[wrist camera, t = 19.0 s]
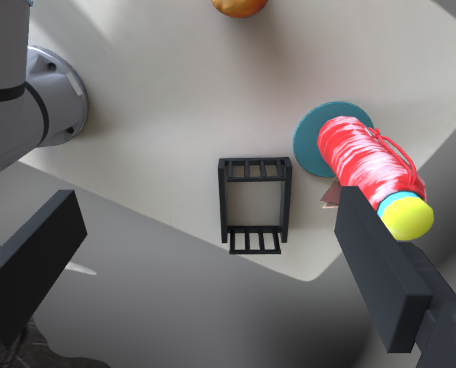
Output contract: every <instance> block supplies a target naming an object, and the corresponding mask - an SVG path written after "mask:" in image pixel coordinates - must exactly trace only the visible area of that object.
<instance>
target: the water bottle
mask: <svg viewBox="0 0 456 368" xmlns="http://www.w3.org/2000/svg"><path fill="white" fill-rule="evenodd" d="M373 133H374V134H375V135H374V134H373ZM378 139H379V140H380V141H379V140H378ZM383 139H385V140H387V141H389V142H390V143H391V144H392V145H393V146H395V147H396V148H397V149H398V150H399V151H400V153H401V154H402V155H403V156H404V157H405V158H406V159H407V161H408V162H409V164H410V165H409V164H408V163H407V162H406V161H405V160H403V159H402V158H401V157H400V156H398V155H397V154H396V153H395V152H394V151H393V150H392V149H391V148H390V147H389V146H388V145H387V144H386V143H385V142H384V141H383ZM317 144H318V147H319V150H320V153H321V155H322V157H323V159H324V161H325V162H326V163H327V164H328V166H329V167H330V168H331V169H332V171H333V172H334V173H335V175H336V176H337V178H338V180H339V181H335V182H334V183H333V184H332V186H331V187H330V188H329V190H328V191H327V192H326V194H325V195H324V196H323V198H322V199H321V200H320V201H325V202H326V203H325V204H324V206H323V207H322V208H333V207H338V206H339V200H340V193H341V187H342V186H359V188H360V189H361V191H362V192H363V194H364V195H365V196H366V198H367V199H368V201H369V202H370V204H371V205H372V207H373V208H374V209H375V211H376V212H377V214H378V215H379V217H380V218H381V219H382V221H383V222H384V224H385V225H386V227H387V228H388V230H389V231H390V232H391V234H392V235H393V237H394V238H395V239H396V240H406V241H408V240H411V239H415V238H418V237H421V236H422V235H423V234H424V233H425V232H427V231H428V230H429V229H430V227H431V225H432V223H433V222H434V216H433V210H432V209H431V208H430V207H429V206H428V205H427V202H428V199H427V193H426V187H425V182H424V181H423V179H422V178H421V177H420V175H419V174H418V173H417V171H416V168H415V166H414V163H413V161H412V160H411V159H410V158H409V157H408V155H407V154H406V153H405V152H404V151H403V150H402V149H401V148H400V147H399V146H398V145H397V144H395V143H394V142H393V141H392V140H390V139H389V138H388V137H383V136H380V132H379V130H378V129H377V128H375V131H374V130H373V129H372V128H370V127H369V128H367V127H366V126H365V125H364V124H363V123H361V122H360V121H359V120H358V119H356V118H355V117H348V116H338V117H336V118H333V119H331V120H328V121H327V122H326V123H325V124H324V126H323V127H322V128H321V129H320V132H319V136H318V140H317Z"/></svg>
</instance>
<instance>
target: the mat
mask: <svg viewBox="0 0 456 368" xmlns="http://www.w3.org/2000/svg"><path fill="white" fill-rule="evenodd" d="M338 116H348V117H355V118H356V119H358V120H359V121H360V122H361V123H363V124H364V125H365V126H366V127H367V128H369V127H370V128H372V129H373V125H372V122H371V120H370V118H369V117H368V115H367V114H366V113H365V112H364V111H363V110H362V109H360V108H359V107H357V106H355V105H353V104H350V103H346V102H331V103H327V104H324V105H321V106H319V107H317V108H315V109H314V110H312V111H311V112H309V113H308V114H307V115H306V116H305V117H304V118H303V119H302V121H301V122H300V123H299V125H298V127H297V129H296V131H295V134H294V139H293V150H294V154H295V157H296V159H297V161H298V162H299V164H300V165H301V166H302V167H303V168H304V169H305V170H306V171H308V172H310V173H312V174H314V175H317V176H321V177H335V176H336V175H335V173H334V172H333V171H332V169H331V168H330V167H329V166H328V164H327V163H326V162H325V161H324V159H323V157H322V155H321V153H320V150H319V147H318V144H317V140H318V136H319V132H320V129H321V128H322V127H323V126H324V124H325V123H326V122H327V121H328V120H331V119H333V118H336V117H338ZM373 130H374V129H373ZM373 134H374V133H373Z"/></svg>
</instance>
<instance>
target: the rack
mask: <svg viewBox="0 0 456 368" xmlns="http://www.w3.org/2000/svg"><path fill="white" fill-rule="evenodd" d="M242 165H244V177H233V166H242ZM249 165H260V172H261V177H250V167H249ZM265 165H276V168H277V172H278V176H268V177H267V174H266V168H265ZM281 165H283V169H282V166H281ZM225 166H228V171H227V182H263V181H282V188H281V206H280V224H279V226H228V221H227V196H226V172H225ZM218 179H219V198H220V217H221V235H222V243H227V238H228V233H230V250H229V254H281V249H280V245H279V239H278V234H277V233H280V237H281V242H282V243H287V236H288V222H289V208H290V194H291V180H292V165H291V162H290V159H289V157H280V158H224V159H219V164H218ZM235 233H245V250H235ZM249 233H258V235H259V247H260V250H250V236H249ZM263 233H273V239H274V246H275V249H272V250H265V246H264V237H263Z"/></svg>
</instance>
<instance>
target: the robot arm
mask: <svg viewBox="0 0 456 368" xmlns="http://www.w3.org/2000/svg"><path fill="white" fill-rule="evenodd" d="M30 6H31V7H32V6H33V1H32V0H0V172H1V171H2V170H4V169H5V168H7V167H8V166H9V165H11V164H13V163H14V162H15V161H17V160H18V159H20V158H21V157H23V156H24V155H26V154H27V153H28V152H30V151H31V150H33V149H34V148H38V147H46V146H55V145H59V144H62V143H65V142H67V141H69V140H70V139H71V138H73V137H74V136H75V135H77V134H78V133H79V132H80V131H81V129H82V128H83V127H84V125H85V123H86V120H87V117H88V110H89V105H88V98H87V94H86V90H85V88H84V85H83V83H82V81H81V80H80V78H79V76H78V75H77V74H76V72H75V71H74V70H73V68H72V67H71V66H70V65H69V64H68V63H67V62H66V61H64V60H63V59H62V58H61V57H59V56H58V55H56V54H55V53H53V52H51V51H49V50H47V49H44V48H41V47H38V46H33V45H28V33H29V16H30ZM334 232H335V235H336V237H337V239H338V242H339V244H340V246H341V248H342V251H343V253H344V255H345V257H346V260H347V262H348V264H349V266H350V269H351V271H352V273H353V276H354V278H355V280H356V282H357V285H358V287H359V289H360V291H361V294H362V296H363V299H364V301H365V303H366V305H367V307H368V310H369V312H370V314H371V316H372V319H373V321H374V323H375V326H376V328H377V330H378V332H379V335H380V337H381V339H382V342H383V344H384V346H385V348H386V351H387V353H411V351H412V349H413V346H414V343H415V342H416V344H417V346H418V347H419V349H420V351H421V353H422V354H421V357H420V359H419V361H418V363H417V366H416V368H456V294H455V292H454V291H453V290H452V288H451V287H450V286H449V285H448V283H447V282H446V281H445V279H444V278H443V277H442V276H441V274H440V273H439V272H438V271H436V268H435V267H434V265H433V264H432V263H430V260H429V259H428V258H427V256H426V255H425V254H424V252H423V251H422V250H421V249H419V248H418V247H416V246H415V245H414V244H412V243H411V242H397V241H396V240H395V238H394V237H393V235H392V234H391V232H390V231H389V230H388V228H387V227H386V225H385V224H384V222H383V221H382V219H381V218H380V217H379V215H378V214H377V212H376V211H375V209H374V208H373V207H372V205H371V204H370V202H369V201H368V199H367V198H366V196H365V195H364V194H363V192H362V191H361V189H360V188H359V186H342V187H341V193H340V200H339V206H338V212H337V219H336V225H335V231H334ZM86 236H87V231H86V228H85V224H84V221H83V218H82V214H81V211H80V208H79V205H78V201H77V198H76V195H75V191H74V190H58V191H57V192H56V193H55V195H53V196H52V197H51V198H50V199H49V200H48V201H47V202H46V203H45V204H44V205H43V206H42V207H41V208H40V209H39V210H38V211H37V212H36V213H35V214H34V215H33V216H32V217H31V218H30V219H29V220H28V221H27V222H26V223H25V224H24V225H23V226H22V227H21V228H20V229H19V230H18V231H17V232H16V233H15V234H14V235H13V236H12V237H11V238H10V239H9V240H8V241H7V242H5V244H3V245H2V246H0V350H9V349H10V347H11V346H12V344H13V343H14V341H15V340H16V338H17V337H18V335H19V334H20V332H21V331H22V330H23V328H24V327H25V325H26V324H27V322H28V321H29V319H30V318H31V316H32V315H33V313H34V312H35V311H36V309H37V308H38V306H39V305H40V303H41V302H42V300H43V299H44V297H45V296H46V294H47V293H48V291H49V290H50V288H51V287H52V286H53V284H54V283H55V281H56V280H57V278H58V277H59V275H60V274H61V272H62V271H63V270H64V268H65V267H66V265H67V264H68V262H69V261H70V259H71V258H72V256H73V255H74V253H75V252H76V250H77V249H78V248H79V246H80V245H81V243H82V242H83V240H84V239H85V237H86Z"/></svg>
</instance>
